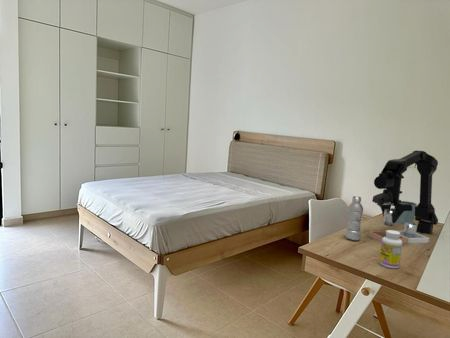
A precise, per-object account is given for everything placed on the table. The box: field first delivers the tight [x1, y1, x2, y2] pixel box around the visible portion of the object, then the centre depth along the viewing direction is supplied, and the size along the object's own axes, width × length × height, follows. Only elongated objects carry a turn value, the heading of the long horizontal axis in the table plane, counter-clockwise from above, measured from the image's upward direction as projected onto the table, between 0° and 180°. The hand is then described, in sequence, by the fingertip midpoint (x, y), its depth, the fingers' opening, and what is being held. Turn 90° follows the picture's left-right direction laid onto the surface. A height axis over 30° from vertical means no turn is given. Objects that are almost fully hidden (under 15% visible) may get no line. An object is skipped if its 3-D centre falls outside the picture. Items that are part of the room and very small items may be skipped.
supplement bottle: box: [379, 229, 403, 269], centre depth 116 cm, size 7×7×13 cm
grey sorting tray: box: [367, 230, 431, 245], centre depth 146 cm, size 24×12×3 cm, turn 103°
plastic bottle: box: [345, 196, 364, 241], centre depth 143 cm, size 6×7×20 cm
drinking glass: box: [395, 200, 418, 225], centre depth 181 cm, size 10×10×12 cm
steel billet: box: [382, 208, 396, 227], centre depth 144 cm, size 5×5×7 cm
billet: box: [403, 223, 418, 238], centre depth 147 cm, size 5×5×7 cm
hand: (389, 221), depth 144 cm, fingers closed on steel billet, 5 cm apart
